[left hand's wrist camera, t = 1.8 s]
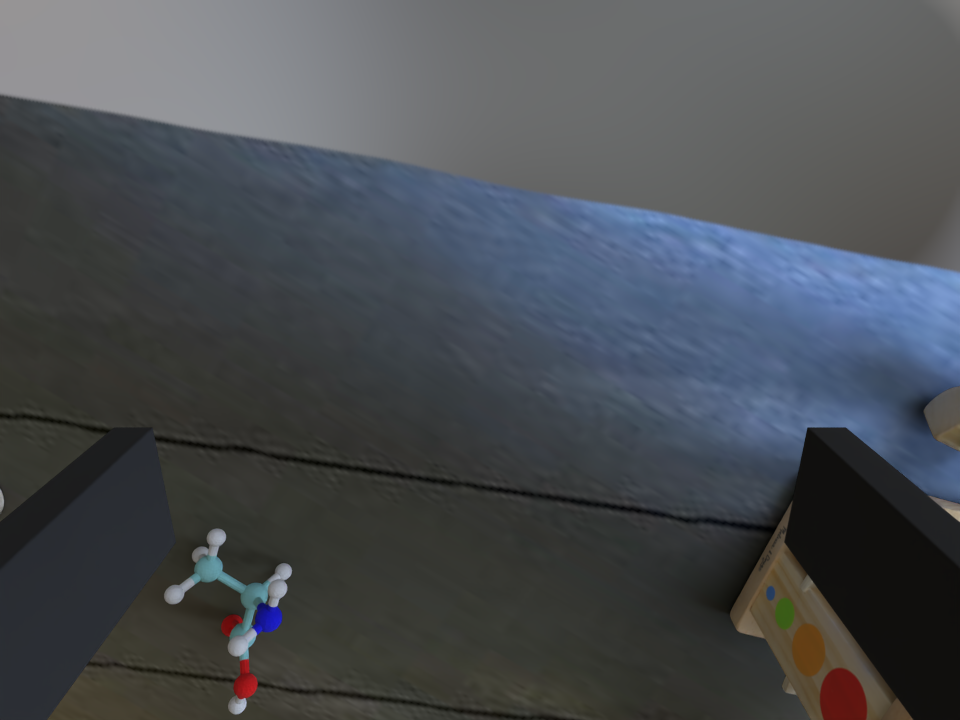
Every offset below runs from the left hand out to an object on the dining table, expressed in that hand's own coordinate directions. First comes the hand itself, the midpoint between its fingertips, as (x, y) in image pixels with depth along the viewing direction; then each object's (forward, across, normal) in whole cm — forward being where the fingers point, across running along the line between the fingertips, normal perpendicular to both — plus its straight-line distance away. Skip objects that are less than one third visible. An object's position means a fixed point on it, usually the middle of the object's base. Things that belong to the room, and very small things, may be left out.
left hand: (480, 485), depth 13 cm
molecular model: (+28, +17, +25) cm, 41 cm away
